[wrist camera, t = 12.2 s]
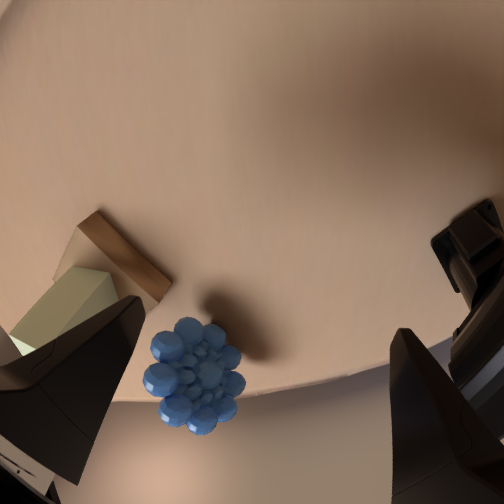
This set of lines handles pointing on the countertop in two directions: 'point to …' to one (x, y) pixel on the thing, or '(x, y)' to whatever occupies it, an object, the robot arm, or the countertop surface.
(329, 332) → the countertop surface
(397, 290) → the countertop surface
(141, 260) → the walnut plinth
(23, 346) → the sage block
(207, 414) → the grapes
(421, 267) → the countertop surface
